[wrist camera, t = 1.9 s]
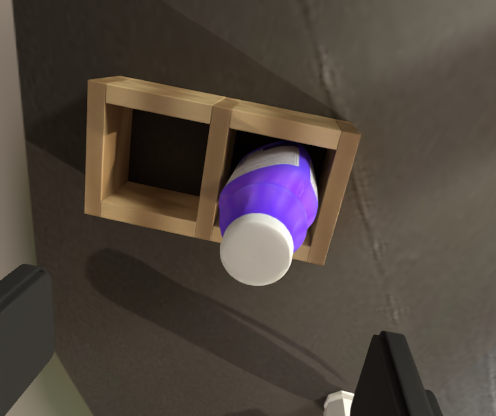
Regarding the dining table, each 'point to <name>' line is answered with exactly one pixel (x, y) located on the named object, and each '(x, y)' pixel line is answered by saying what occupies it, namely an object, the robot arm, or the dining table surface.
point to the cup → (338, 404)
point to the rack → (216, 161)
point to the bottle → (267, 211)
